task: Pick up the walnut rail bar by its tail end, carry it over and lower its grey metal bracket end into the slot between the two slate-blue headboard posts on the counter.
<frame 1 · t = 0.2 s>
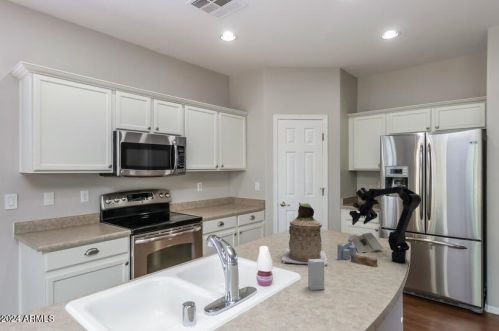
hand: (358, 224, 194), 15 cm above the countertop, tool tilted 30°, fingers open, 9 cm apart
pale grey slotted block: (365, 250, 189), on the countertop
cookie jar: (304, 258, 170), on the countertop
skincare box: (316, 288, 129), on the countertop
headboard: (348, 256, 174), on the countertop
rail: (363, 263, 162), on the countertop
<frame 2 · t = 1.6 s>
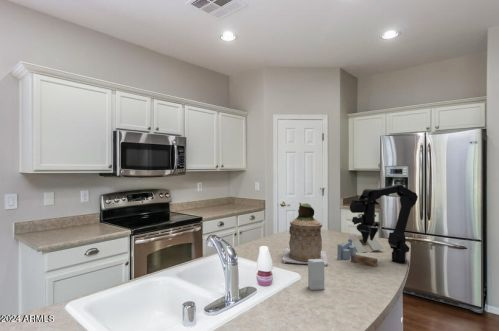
hand: (368, 241, 161), 12 cm above the countertop, tool pointing down, fingers open, 9 cm apart
nothing on the countertop moved.
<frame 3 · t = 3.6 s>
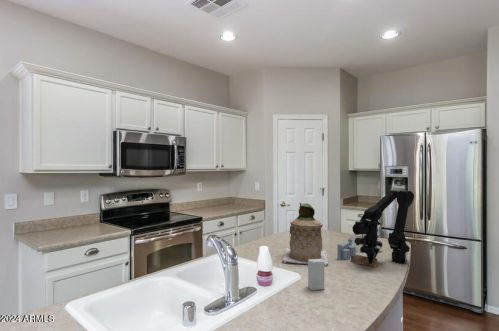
hand: (371, 262, 159), 1 cm above the countertop, tool pointing down, fingers closed on rail, 3 cm apart
rail: (363, 263, 162), on the countertop, touching gripper
everything else where it was.
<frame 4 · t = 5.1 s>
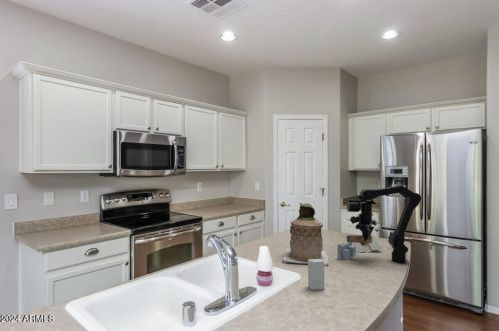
hand: (366, 240, 167), 11 cm above the countertop, tool pointing down, fingers closed on rail, 3 cm apart
rail: (359, 242, 169), point 10 cm above the countertop, tilted 6°, touching gripper
everything else where it was.
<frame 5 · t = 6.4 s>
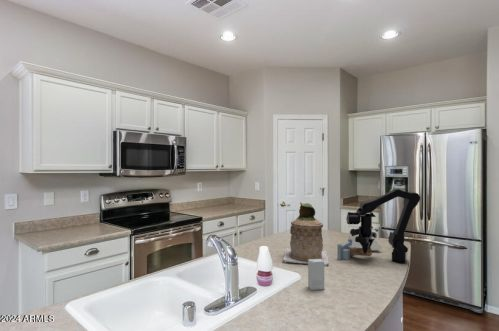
hand: (366, 252, 168), 4 cm above the countertop, tool pointing down, fingers closed on rail, 3 cm apart
rail: (359, 254, 170), point 2 cm above the countertop, tilted 8°, touching gripper
when the fingers open (3 cm above the countertop, at t = 7.0 s): rail stays where it is, on the countertop.
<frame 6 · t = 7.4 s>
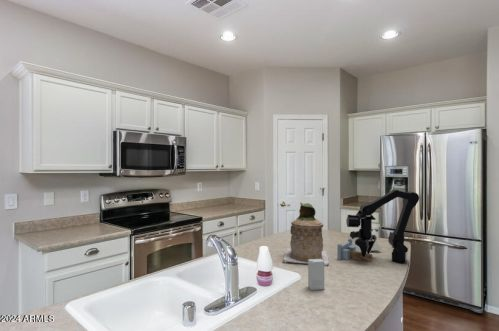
hand: (366, 255, 168), 3 cm above the countertop, tool pointing down, fingers open, 8 cm apart
rail: (359, 259, 170), on the countertop
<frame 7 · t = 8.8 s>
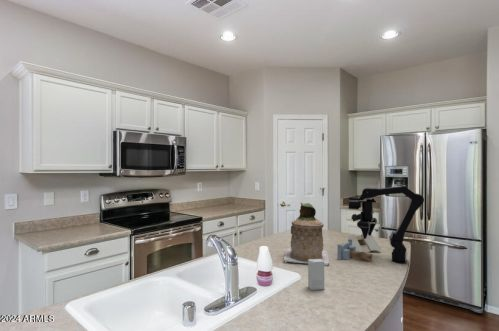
hand: (367, 237, 172), 12 cm above the countertop, tool pointing down, fingers open, 9 cm apart
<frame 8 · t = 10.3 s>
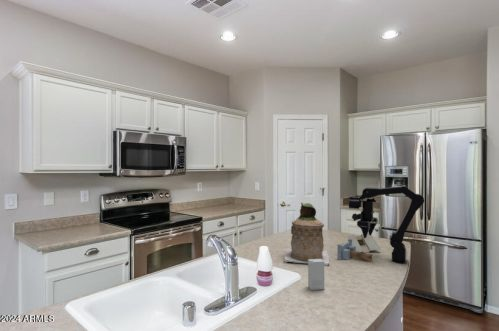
hand: (367, 236, 173), 12 cm above the countertop, tool pointing down, fingers open, 9 cm apart
at the end: rail 0.4 cm from the target spot on the countertop beside the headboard, on the countertop; rail on the countertop; the gripper is holding nothing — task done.
